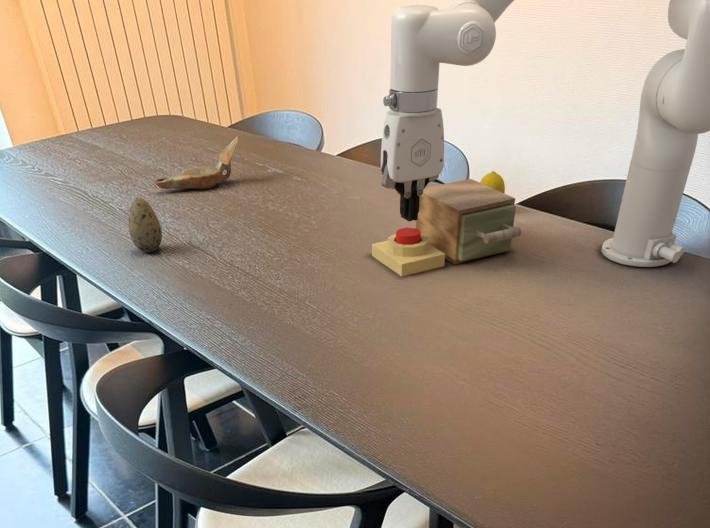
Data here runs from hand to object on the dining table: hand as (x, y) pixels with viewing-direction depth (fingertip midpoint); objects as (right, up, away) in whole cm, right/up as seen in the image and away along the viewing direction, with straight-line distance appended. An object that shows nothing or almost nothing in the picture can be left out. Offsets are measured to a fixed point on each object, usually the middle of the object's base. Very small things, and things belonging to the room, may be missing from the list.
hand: (409, 218), depth 118 cm
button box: (0, -6, +5) cm, 8 cm away
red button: (0, -3, +3) cm, 4 cm away
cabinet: (+11, -1, +10) cm, 15 cm away
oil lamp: (-46, +24, +43) cm, 67 cm away
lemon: (+19, +11, +24) cm, 33 cm away
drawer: (+13, -3, +7) cm, 15 cm away
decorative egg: (-49, -2, +13) cm, 51 cm away
